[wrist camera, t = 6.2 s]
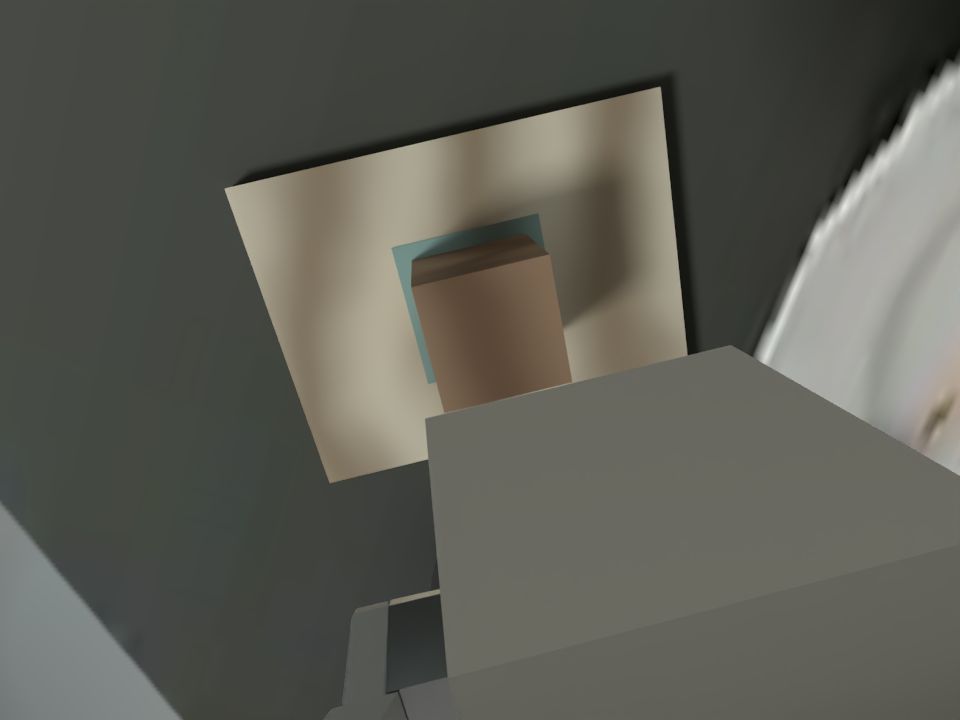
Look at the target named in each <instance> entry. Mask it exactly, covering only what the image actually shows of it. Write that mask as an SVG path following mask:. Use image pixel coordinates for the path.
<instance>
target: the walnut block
mask: <svg viewBox="0 0 960 720" xmlns="http://www.w3.org/2000/svg"><path fill="white" fill-rule="evenodd" d="M411 289H412V293H413V297H414V300H415V304H416V308H417V312H418V316H419V319H420V323H421V327H422V331H423V334H424V338H425V342H426V346H427V349H428V353H429V357H430V361H431V365H432V368H433V372H434V376H435V380H436V383H437V387H438V391H439V395H440V398H441V402H442V406H443V410H444V413H447V412H451V411H456V410H460V409H464V408H468V407H472V406H476V405H480V404H484V403H489V402H493V401H497V400H501V399H505V398H509V397H513V396H517V395H522V394H526V393H530V392H534V391H538V390H542V389H546V388H550V387H555V386H559V385H563V384H567V383H571V382H572V377H571V371H570V366H569V360H568V354H567V349H566V343H565V337H564V332H563V326H562V320H561V315H560V309H559V304H558V298H557V292H556V287H555V281H554V275H553V270H552V264H551V258H550V254H549V253H548V252H547V251H545V250H544V249H543V248H542V247H541V246H540V245H538V244H537V243H536V242H535V241H534V240H533V239H531V238H530V237H529V236H528V235H527V234H526V233H525V234H521V235H517V236H513V237H509V238H504V239H500V240H496V241H492V242H488V243H483V244H479V245H475V246H471V247H466V248H462V249H458V250H454V251H450V252H445V253H441V254H437V255H433V256H429V257H424V258H420V259H416V260H412V269H411Z"/></svg>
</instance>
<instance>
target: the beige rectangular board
mask: <svg viewBox="0 0 960 720" xmlns="http://www.w3.org/2000/svg"><path fill="white" fill-rule="evenodd" d="M225 192H226V194H227V197H228V200H229V203H230V206H231V208H232V211H233V214H234V217H235V219H236V222H237V225H238V228H239V231H240V233H241V236H242V239H243V242H244V245H245V247H246V250H247V253H248V256H249V259H250V261H251V264H252V267H253V270H254V273H255V275H256V278H257V281H258V284H259V287H260V289H261V292H262V295H263V298H264V300H265V303H266V306H267V309H268V312H269V314H270V317H271V320H272V323H273V326H274V328H275V331H276V334H277V337H278V340H279V342H280V345H281V348H282V351H283V354H284V356H285V359H286V362H287V365H288V368H289V370H290V373H291V376H292V379H293V382H294V384H295V387H296V390H297V393H298V395H299V398H300V401H301V404H302V407H303V409H304V412H305V415H306V418H307V421H308V423H309V426H310V429H311V432H312V435H313V437H314V440H315V443H316V446H317V449H318V451H319V454H320V457H321V460H322V463H323V465H324V468H325V471H326V474H327V476H328V479H329V482H330V483H332V482H336V481H340V480H344V479H349V478H353V477H357V476H361V475H365V474H369V473H373V472H377V471H381V470H385V469H390V468H394V467H398V466H402V465H406V464H410V463H414V462H418V461H422V460H426V459H428V448H427V437H426V425H425V418H429V417H433V416H438V415H442V414H446V413H444V410H443V406H442V402H441V398H440V395H439V391H438V387H437V383H436V380H435V376H434V372H433V368H432V365H431V361H430V357H429V353H428V349H427V346H426V342H425V338H424V334H423V331H422V327H421V323H420V319H419V316H418V312H417V308H416V304H415V300H414V297H413V293H412V289H411V269H412V260H416V259H420V258H424V257H429V256H433V255H437V254H441V253H445V252H450V251H454V250H458V249H462V248H466V247H471V246H475V245H479V244H483V243H488V242H492V241H496V240H500V239H504V238H509V237H513V236H517V235H521V234H525V233H526V234H527V235H528V236H529V237H530V238H531V239H533V240H534V241H535V242H536V243H537V244H538V245H540V246H541V247H542V248H543V249H544V250H545V251H547V252H548V253H549V254H550V258H551V264H552V270H553V275H554V281H555V287H556V292H557V298H558V304H559V309H560V315H561V320H562V326H563V332H564V337H565V343H566V349H567V354H568V360H569V366H570V371H571V377H572V382H571V383H575V382H579V381H584V380H588V379H592V378H596V377H600V376H604V375H609V374H613V373H617V372H621V371H625V370H630V369H634V368H638V367H642V366H646V365H650V364H655V363H659V362H663V361H667V360H671V359H675V358H680V357H684V356H688V355H687V345H686V335H685V325H684V315H683V305H682V295H681V285H680V275H679V265H678V255H677V245H676V235H675V225H674V215H673V205H672V195H671V185H670V175H669V165H668V155H667V145H666V135H665V125H664V115H663V105H662V95H661V87H657V88H652V89H648V90H644V91H639V92H635V93H631V94H627V95H622V96H618V97H614V98H609V99H605V100H601V101H597V102H592V103H588V104H584V105H579V106H575V107H571V108H567V109H562V110H558V111H554V112H549V113H545V114H541V115H537V116H532V117H528V118H524V119H520V120H515V121H511V122H507V123H502V124H498V125H494V126H490V127H485V128H481V129H477V130H472V131H468V132H464V133H460V134H455V135H451V136H447V137H442V138H438V139H434V140H430V141H425V142H421V143H417V144H413V145H408V146H404V147H400V148H395V149H391V150H387V151H383V152H378V153H374V154H370V155H365V156H361V157H357V158H353V159H348V160H344V161H340V162H335V163H331V164H327V165H323V166H318V167H314V168H310V169H306V170H301V171H297V172H293V173H288V174H284V175H280V176H276V177H271V178H267V179H263V180H258V181H254V182H250V183H246V184H241V185H237V186H233V187H229V188H225ZM571 383H567V384H571ZM567 384H563V385H567ZM563 385H559V386H563ZM559 386H555V387H559ZM550 388H554V387H550ZM550 388H546V389H550ZM546 389H542V390H546ZM542 390H538V391H542ZM538 391H534V392H538ZM534 392H530V393H534ZM526 394H529V393H526ZM522 395H525V394H522ZM517 396H521V395H517ZM517 396H513V397H517ZM513 397H509V398H513ZM509 398H505V399H509ZM501 400H504V399H501ZM497 401H500V400H497ZM493 402H496V401H493ZM489 403H492V402H489ZM484 404H488V403H484ZM480 405H483V404H480ZM476 406H479V405H476ZM472 407H475V406H472ZM468 408H471V407H468ZM464 409H467V408H464ZM460 410H463V409H460ZM456 411H458V410H456ZM451 412H454V411H451ZM447 413H450V412H447Z"/></svg>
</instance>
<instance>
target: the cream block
mask: <svg viewBox="0 0 960 720" xmlns="http://www.w3.org/2000/svg"><path fill="white" fill-rule="evenodd" d="M425 425H426V437H427V448H428V460H429V471H430V482H431V494H432V505H433V516H434V528H435V539H436V550H437V562H438V573H439V585H440V596H441V607H442V619H443V630H444V641H445V653H446V664H447V675H448V681H449V684H450V687H451V691H452V694H453V698H454V701H455V705H456V708H457V711H458V715H459V718H460V720H960V476H959V475H957V474H955V473H954V472H952V471H950V470H948V469H947V468H945V467H943V466H941V465H940V464H938V463H936V462H934V461H933V460H931V459H929V458H927V457H926V456H924V455H922V454H920V453H919V452H917V451H915V450H913V449H912V448H910V447H908V446H906V445H905V444H903V443H901V442H899V441H898V440H896V439H894V438H892V437H891V436H889V435H887V434H885V433H884V432H882V431H880V430H878V429H877V428H875V427H873V426H871V425H870V424H868V423H866V422H864V421H863V420H861V419H859V418H857V417H856V416H854V415H852V414H850V413H849V412H847V411H845V410H843V409H842V408H840V407H838V406H836V405H835V404H833V403H831V402H829V401H828V400H826V399H824V398H822V397H821V396H819V395H817V394H815V393H814V392H812V391H810V390H808V389H807V388H805V387H803V386H801V385H800V384H798V383H796V382H794V381H793V380H791V379H789V378H787V377H786V376H784V375H782V374H780V373H779V372H777V371H775V370H773V369H772V368H770V367H768V366H767V365H765V364H763V363H761V362H760V361H758V360H756V359H754V358H753V357H751V356H749V355H747V354H746V353H744V352H742V351H740V350H739V349H737V348H735V347H733V346H732V345H730V346H725V347H721V348H717V349H713V350H709V351H705V352H700V353H696V354H692V355H688V356H684V357H680V358H675V359H671V360H667V361H663V362H659V363H655V364H650V365H646V366H642V367H638V368H634V369H630V370H625V371H621V372H617V373H613V374H609V375H604V376H600V377H596V378H592V379H588V380H584V381H579V382H575V383H571V384H567V385H563V386H559V387H554V388H550V389H546V390H542V391H538V392H534V393H529V394H525V395H521V396H517V397H513V398H509V399H504V400H500V401H496V402H492V403H488V404H483V405H479V406H475V407H471V408H467V409H463V410H458V411H454V412H450V413H446V414H442V415H438V416H433V417H429V418H425Z"/></svg>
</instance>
